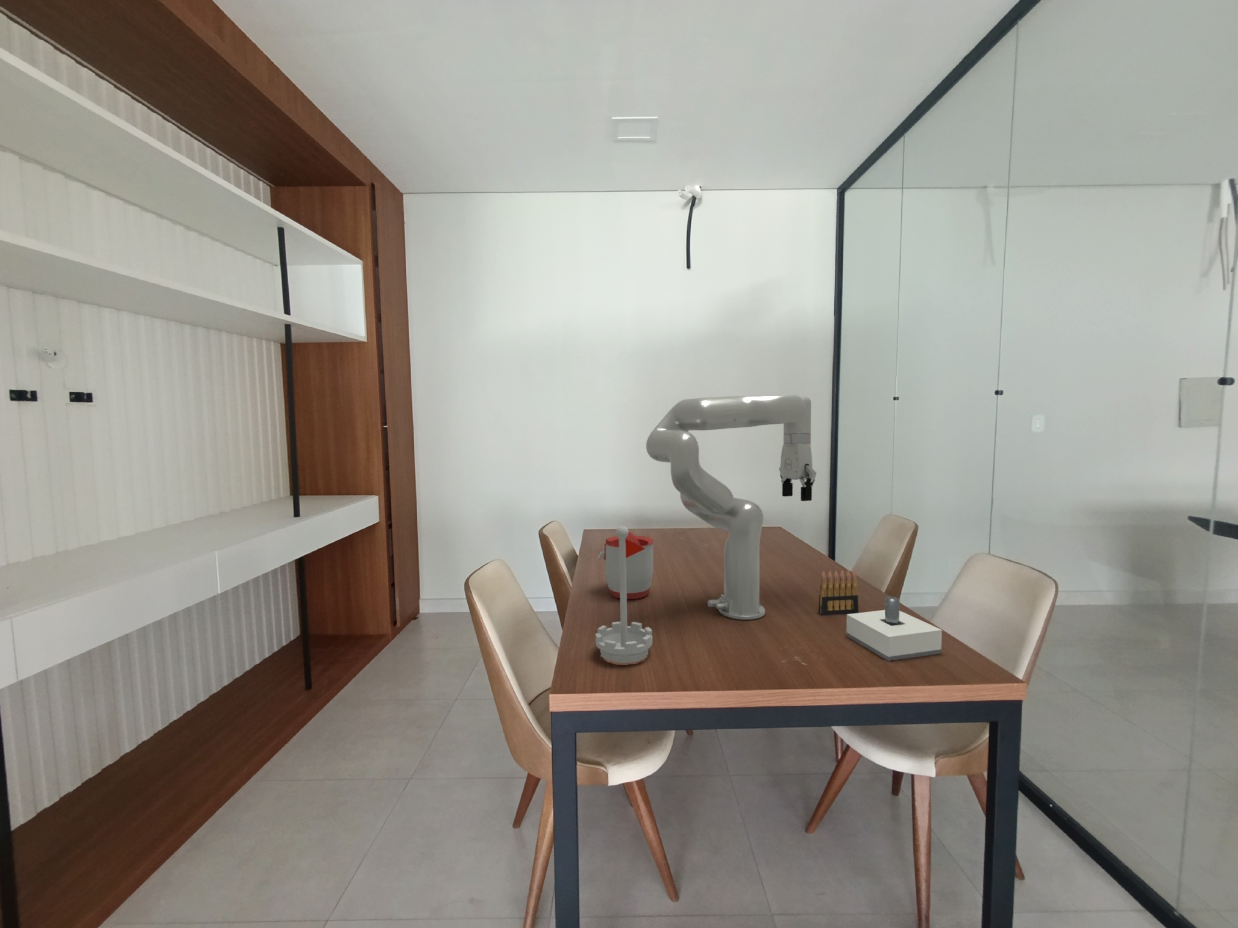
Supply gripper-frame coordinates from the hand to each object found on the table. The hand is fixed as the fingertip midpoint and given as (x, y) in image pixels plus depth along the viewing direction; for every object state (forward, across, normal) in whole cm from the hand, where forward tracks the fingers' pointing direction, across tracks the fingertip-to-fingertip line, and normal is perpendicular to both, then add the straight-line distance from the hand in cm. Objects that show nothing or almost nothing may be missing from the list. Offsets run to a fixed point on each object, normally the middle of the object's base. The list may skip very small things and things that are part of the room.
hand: (796, 498), depth 152 cm
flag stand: (+31, +22, -58) cm, 69 cm away
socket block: (+30, +34, +4) cm, 46 cm away
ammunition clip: (+31, +13, +5) cm, 34 cm away
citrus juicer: (+31, -19, -47) cm, 59 cm away
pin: (+29, +34, +4) cm, 45 cm away
